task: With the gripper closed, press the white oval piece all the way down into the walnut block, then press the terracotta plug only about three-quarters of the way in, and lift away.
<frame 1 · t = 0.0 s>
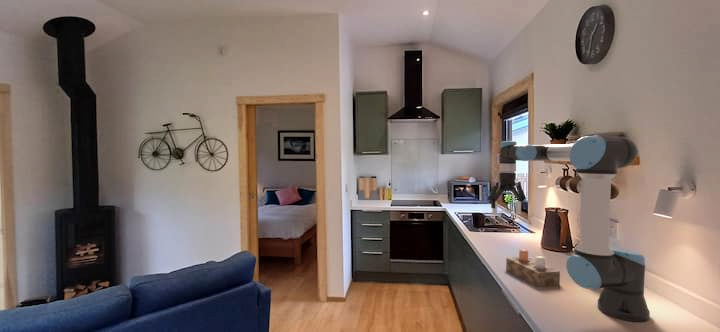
hand: (506, 214, 168), 28 cm above the worktop, tool pointing down, fingers open, 13 cm apart
white oval piece: (540, 263, 153), point 8 cm above the worktop, slide at 0.0 cm
walnut plug block: (531, 276, 159), on the worktop
squeeze bottle: (587, 281, 154), on the worktop
terracotta plug: (523, 256, 164), point 8 cm above the worktop, slide at 0.0 cm
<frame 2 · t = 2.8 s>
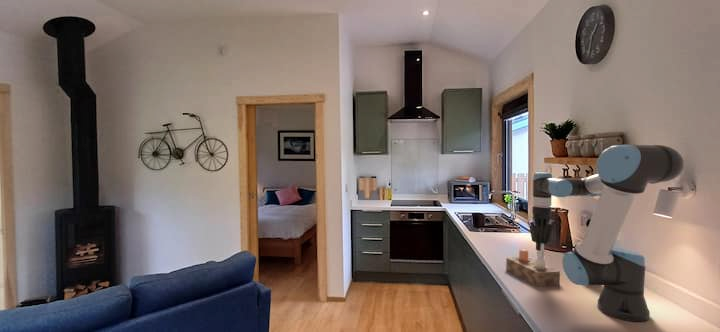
hand: (540, 257, 153), 11 cm above the worktop, tool pointing down, fingers closed
white oval piece: (540, 264, 153), point 8 cm above the worktop, slide at 0.3 cm, touching gripper
everything else where it was.
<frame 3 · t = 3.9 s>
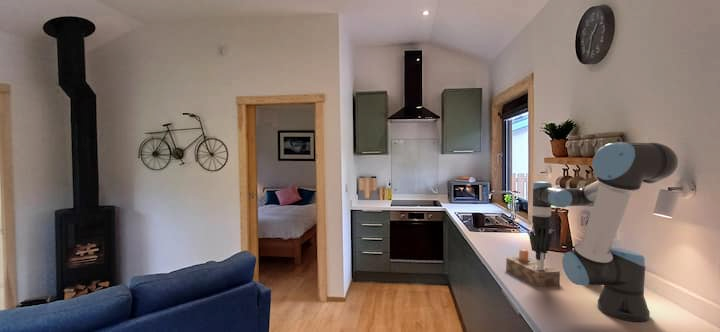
hand: (540, 266, 153), 7 cm above the worktop, tool pointing down, fingers closed
white oval piece: (540, 273, 153), point 3 cm above the worktop, slide at 4.5 cm, touching gripper
everything else where it was.
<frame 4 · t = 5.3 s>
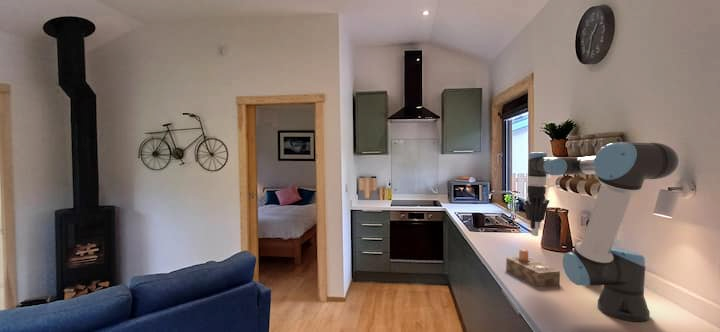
hand: (534, 235, 157), 20 cm above the worktop, tool pointing down, fingers closed
white oval piece: (540, 273, 153), point 3 cm above the worktop, slide at 4.5 cm
everything else where it was.
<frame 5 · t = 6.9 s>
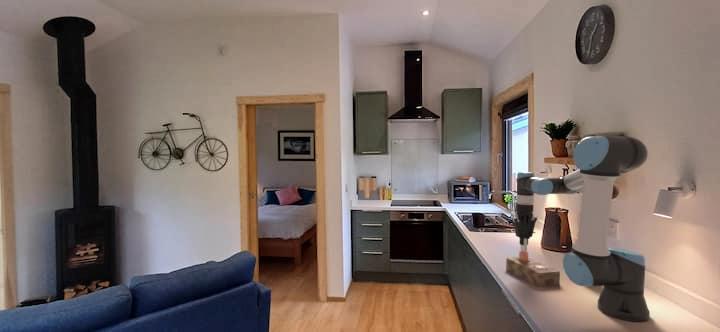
hand: (523, 251, 164), 11 cm above the worktop, tool pointing down, fingers closed
terracotta plug: (523, 257, 164), point 7 cm above the worktop, slide at 0.7 cm, touching gripper
everything else where it was.
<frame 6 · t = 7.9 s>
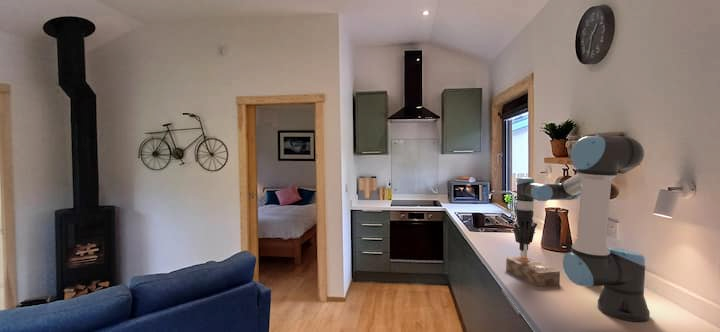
hand: (523, 256, 164), 8 cm above the worktop, tool pointing down, fingers closed
terracotta plug: (523, 263, 164), point 5 cm above the worktop, slide at 3.4 cm, touching gripper
everything else where it was.
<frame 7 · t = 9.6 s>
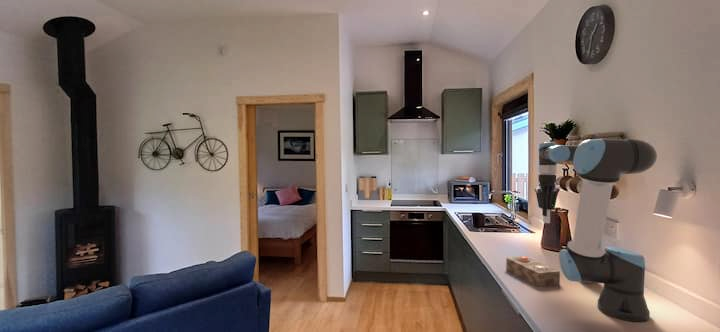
hand: (546, 222, 162), 25 cm above the worktop, tool pointing down, fingers closed
terracotta plug: (523, 263, 164), point 5 cm above the worktop, slide at 3.4 cm
everything else where it was.
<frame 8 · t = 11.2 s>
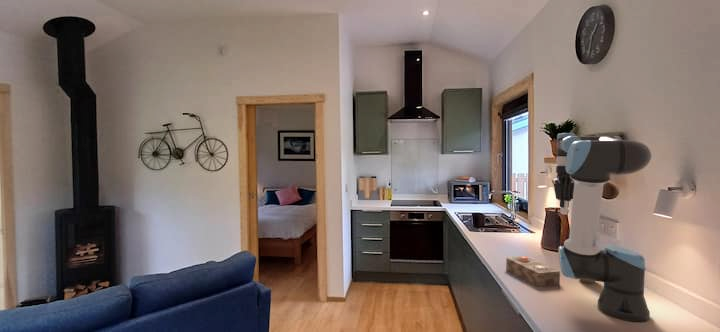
hand: (564, 214, 162), 29 cm above the worktop, tool pointing down, fingers closed
nothing on the worktop moved.
at the end: white oval piece slide at 4.5 cm; terracotta plug slide at 3.4 cm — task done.
